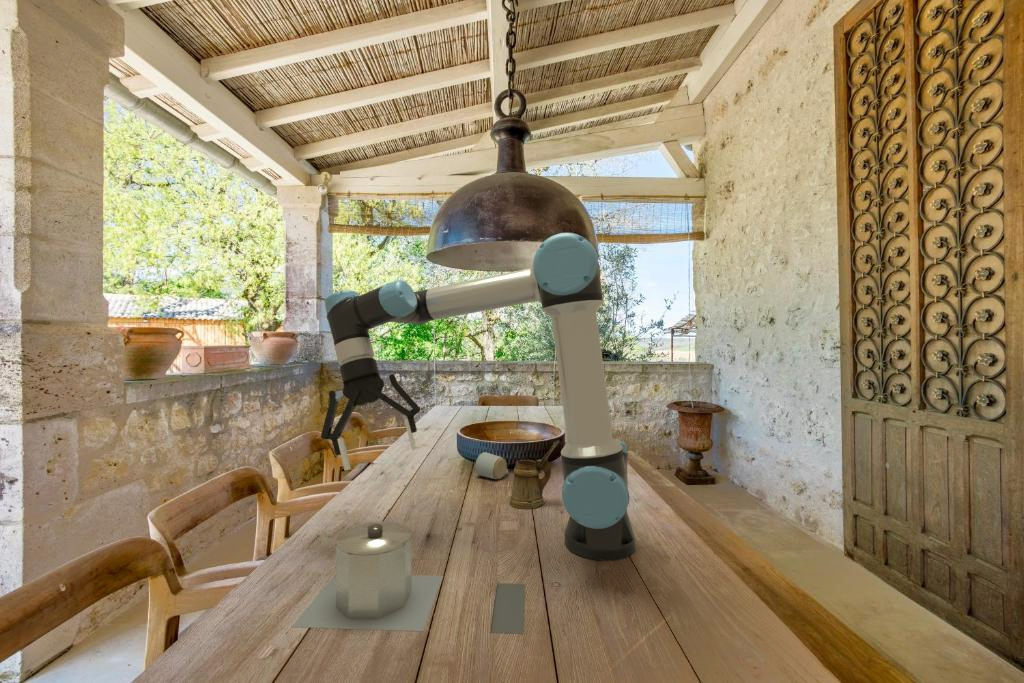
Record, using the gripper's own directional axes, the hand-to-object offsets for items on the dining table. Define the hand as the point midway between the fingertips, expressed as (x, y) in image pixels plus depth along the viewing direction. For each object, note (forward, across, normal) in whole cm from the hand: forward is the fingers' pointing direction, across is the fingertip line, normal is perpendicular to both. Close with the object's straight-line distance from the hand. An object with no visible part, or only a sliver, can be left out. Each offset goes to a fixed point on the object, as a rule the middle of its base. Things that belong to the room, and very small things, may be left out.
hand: (381, 459), depth 94 cm
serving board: (+23, +5, +13) cm, 27 cm away
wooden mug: (+23, -32, -28) cm, 49 cm away
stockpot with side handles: (+22, +5, +13) cm, 26 cm away
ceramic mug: (+15, -26, -55) cm, 62 cm away
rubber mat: (+28, -12, +17) cm, 35 cm away
